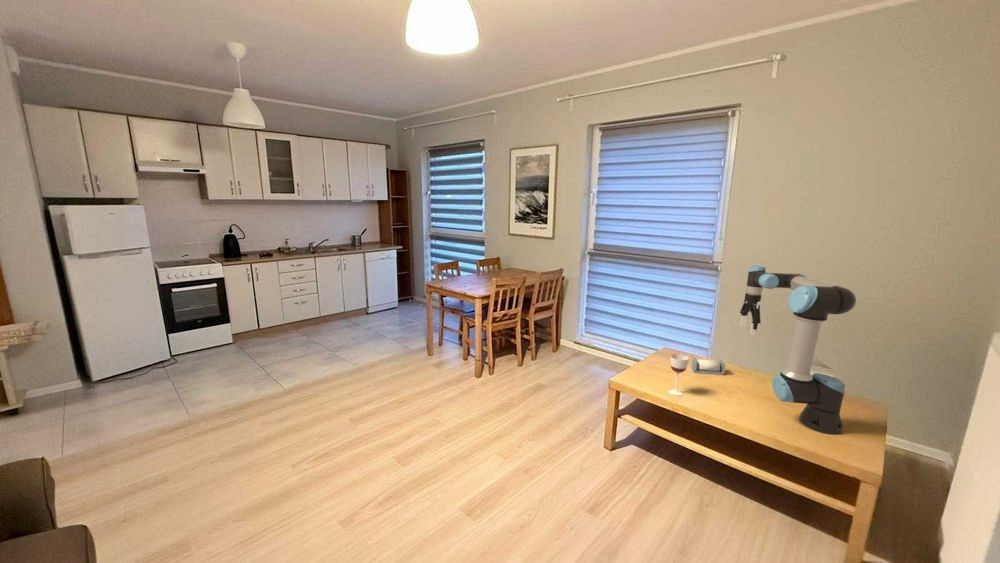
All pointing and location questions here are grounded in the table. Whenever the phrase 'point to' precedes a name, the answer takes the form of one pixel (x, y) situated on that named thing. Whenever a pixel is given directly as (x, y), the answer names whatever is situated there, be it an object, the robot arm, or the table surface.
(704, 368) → the paper roll
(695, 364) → the holder
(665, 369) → the table surface
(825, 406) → the robot arm
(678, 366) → the wineglass
